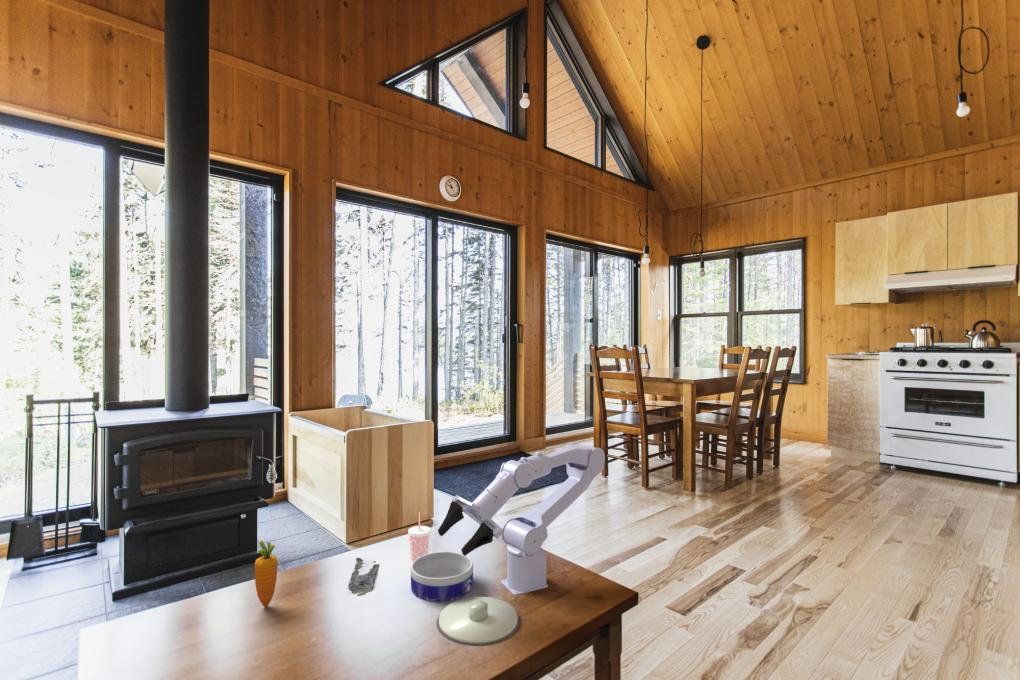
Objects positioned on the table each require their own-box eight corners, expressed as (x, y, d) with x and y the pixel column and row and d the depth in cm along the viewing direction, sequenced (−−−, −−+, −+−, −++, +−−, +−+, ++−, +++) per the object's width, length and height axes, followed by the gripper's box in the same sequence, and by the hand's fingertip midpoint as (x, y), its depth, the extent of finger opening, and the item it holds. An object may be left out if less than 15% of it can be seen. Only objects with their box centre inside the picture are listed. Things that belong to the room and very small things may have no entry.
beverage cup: (405, 560, 139) (405, 509, 139) (426, 556, 142) (426, 506, 142) (411, 569, 134) (411, 516, 134) (433, 564, 137) (433, 513, 137)
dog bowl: (463, 607, 115) (463, 581, 115) (400, 600, 118) (400, 575, 118) (479, 576, 130) (479, 553, 130) (423, 571, 133) (423, 548, 133)
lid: (496, 593, 121) (496, 580, 121) (531, 630, 105) (531, 614, 105) (428, 610, 113) (428, 595, 113) (455, 653, 98) (455, 636, 98)
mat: (497, 594, 121) (497, 592, 121) (534, 633, 105) (535, 631, 105) (425, 611, 113) (425, 610, 113) (453, 657, 97) (453, 655, 97)
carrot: (281, 606, 115) (282, 541, 115) (258, 615, 111) (259, 547, 111) (272, 599, 118) (273, 535, 118) (250, 607, 114) (250, 541, 114)
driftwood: (371, 599, 119) (371, 590, 120) (342, 601, 119) (342, 592, 119) (381, 562, 140) (381, 554, 140) (356, 563, 139) (356, 555, 139)
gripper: (467, 474, 121) (425, 515, 114) (512, 506, 113) (470, 552, 105) (472, 491, 125) (432, 532, 118) (516, 523, 117) (476, 569, 110)
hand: (451, 543), depth 112 cm, fingers open, 7 cm apart
